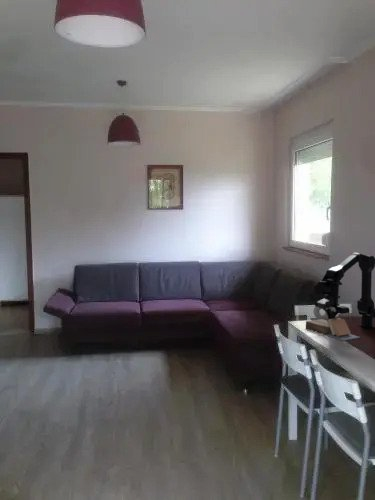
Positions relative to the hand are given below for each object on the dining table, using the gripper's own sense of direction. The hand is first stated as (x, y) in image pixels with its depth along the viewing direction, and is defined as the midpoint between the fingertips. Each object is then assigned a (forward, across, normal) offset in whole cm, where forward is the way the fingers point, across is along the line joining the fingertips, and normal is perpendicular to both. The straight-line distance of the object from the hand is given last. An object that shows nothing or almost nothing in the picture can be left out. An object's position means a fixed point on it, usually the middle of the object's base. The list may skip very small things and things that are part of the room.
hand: (330, 323), depth 235 cm
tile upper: (+1, +6, 0) cm, 6 cm away
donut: (+6, -22, +16) cm, 28 cm away
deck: (+5, -5, 0) cm, 7 cm away
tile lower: (+1, +4, 0) cm, 4 cm away
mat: (+5, +8, 0) cm, 10 cm away
